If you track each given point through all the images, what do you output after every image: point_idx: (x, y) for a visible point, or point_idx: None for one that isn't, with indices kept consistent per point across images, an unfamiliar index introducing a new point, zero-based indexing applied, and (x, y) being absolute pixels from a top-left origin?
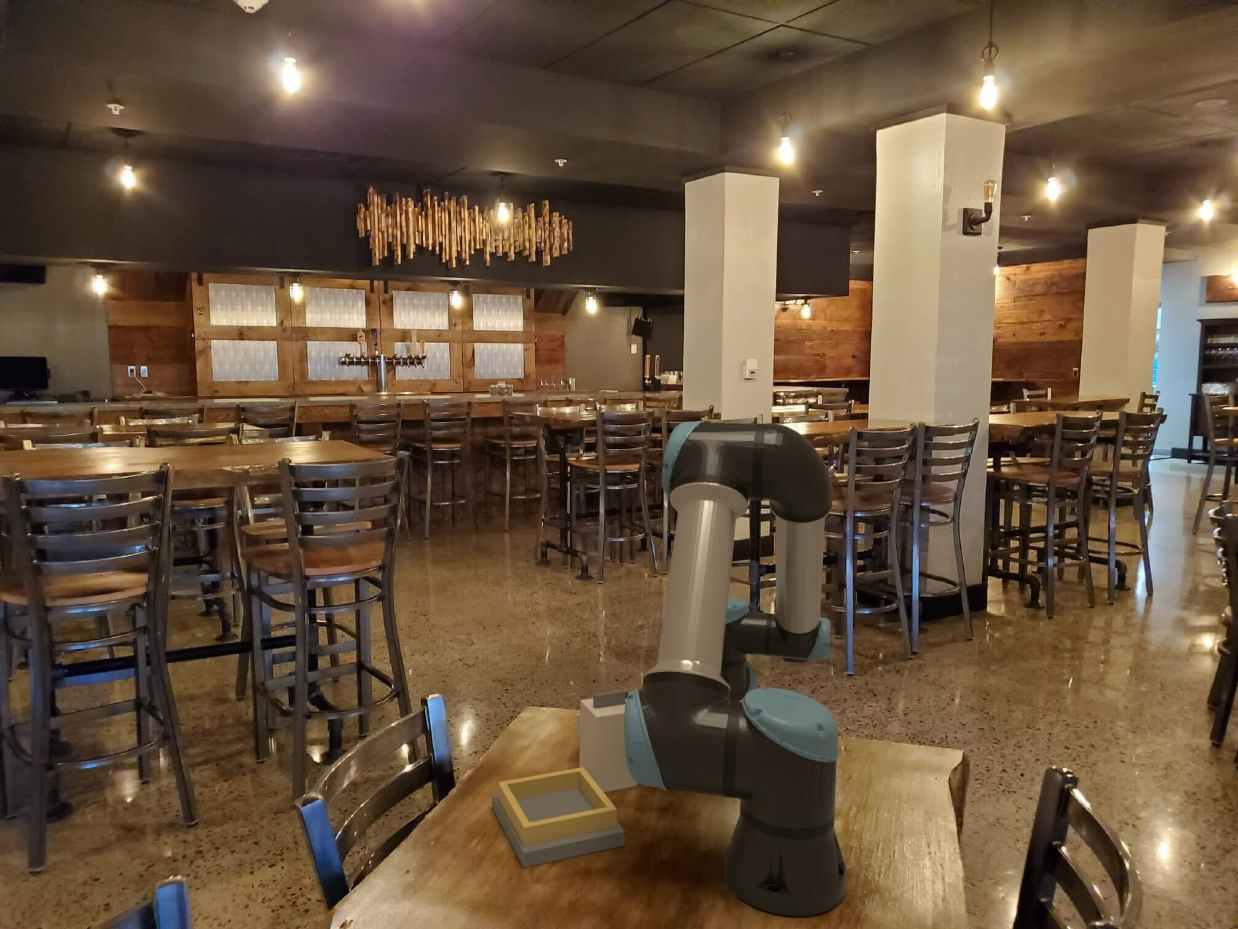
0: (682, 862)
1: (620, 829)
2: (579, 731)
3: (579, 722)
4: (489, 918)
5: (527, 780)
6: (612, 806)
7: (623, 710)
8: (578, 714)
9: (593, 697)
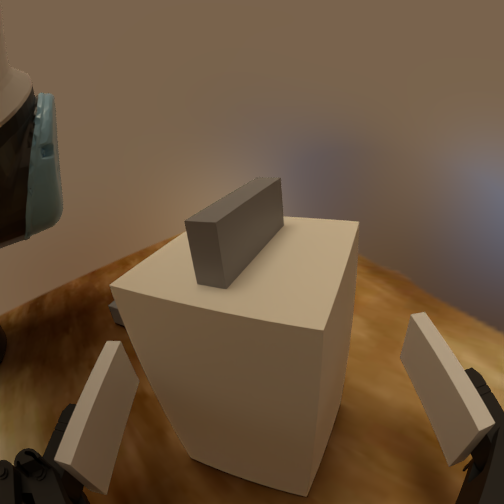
0: (45, 339)
1: (114, 305)
2: (401, 359)
3: (407, 335)
4: (173, 236)
5: None
6: None
7: (168, 258)
8: (420, 315)
9: (279, 190)
